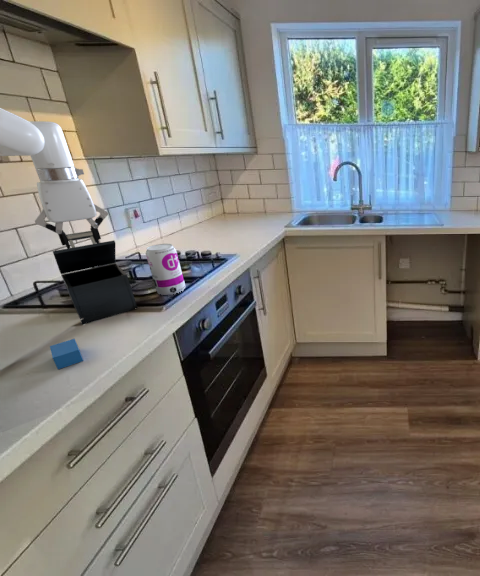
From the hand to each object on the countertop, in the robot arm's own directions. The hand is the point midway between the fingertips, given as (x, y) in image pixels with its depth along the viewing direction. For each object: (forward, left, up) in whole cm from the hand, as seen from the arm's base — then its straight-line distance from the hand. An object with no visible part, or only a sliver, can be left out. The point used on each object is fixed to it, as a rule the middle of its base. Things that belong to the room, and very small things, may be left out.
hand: (82, 244), depth 98 cm
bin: (-1, +1, -20) cm, 20 cm away
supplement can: (+12, +13, -20) cm, 27 cm away
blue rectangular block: (+9, -25, -20) cm, 33 cm away
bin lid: (-1, +1, -5) cm, 5 cm away
